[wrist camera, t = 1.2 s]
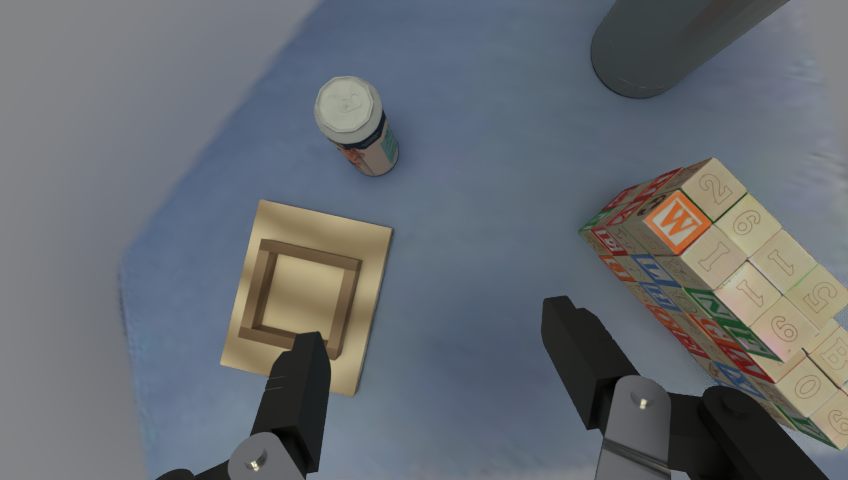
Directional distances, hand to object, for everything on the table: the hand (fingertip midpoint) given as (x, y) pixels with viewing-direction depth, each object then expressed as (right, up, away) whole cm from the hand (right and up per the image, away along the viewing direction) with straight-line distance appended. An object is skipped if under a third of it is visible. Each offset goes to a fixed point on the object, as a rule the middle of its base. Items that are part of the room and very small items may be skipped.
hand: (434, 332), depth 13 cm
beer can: (-5, +12, +24) cm, 27 cm away
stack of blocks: (+24, -2, +22) cm, 33 cm away
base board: (-11, -2, +23) cm, 26 cm away
